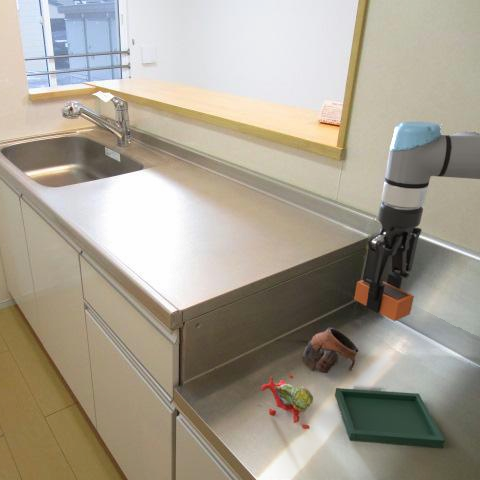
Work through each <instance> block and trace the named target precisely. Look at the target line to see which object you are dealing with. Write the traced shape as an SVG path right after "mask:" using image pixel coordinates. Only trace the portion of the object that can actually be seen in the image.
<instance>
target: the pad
mask: <svg viewBox="0 0 480 480" xmlns="http://www.w3.org/2000/svg"><path fill="white" fill-rule="evenodd" d="M382 284H383V285H385V286H384V291H383V296H382V301H381V306H380V311H379V312H378V313H377V314H380V315H382V316H384V317H385V318H388V319H390V320H391V321H393V322H396V321H399V320H401V319H402V318H405V317H407V316H409V315H411V311H412V307H413V303H414V299H415V295H413V294H411V293H409V292H407V291H405V290H403V289H401V288H400V289H398V288H396V287H394V286H392V285H390V284H388V283H387V281H386V282H385V281H383V283H382ZM369 286H370V284H369V283H367V282H365V281H363V279H361V280H358V281H357V282H356V286H355V293H354V298H353V299H354V301H355V302H358V303H360V304H361V305H363V306H365V307H366V305H367V299H368V291H369Z"/></svg>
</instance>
